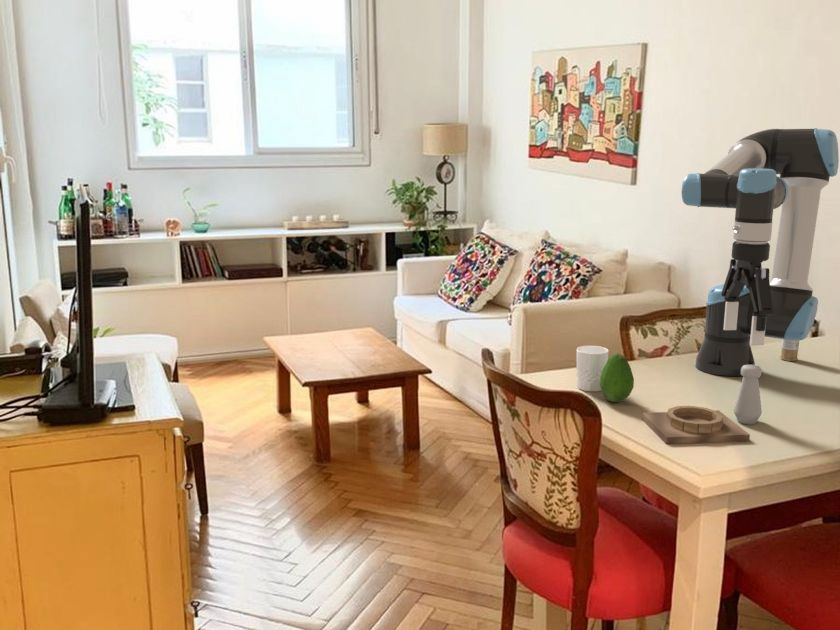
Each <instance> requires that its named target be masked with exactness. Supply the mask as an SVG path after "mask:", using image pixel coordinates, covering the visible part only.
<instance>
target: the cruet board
mask: <svg viewBox="0 0 840 630" xmlns="http://www.w3.org/2000/svg"><path fill="white" fill-rule="evenodd" d="M641 420H642V422H644V423H645V424H646V425H647V426H648V427H649V428H650V430H652V431H653V433H655V434H656V436H658V437H659V438H660V440H662V441H663V443H665V445H675V444H676V445H677V444H678V445H679V444H703V443H704V444H709V443H712V444H713V443H734V442H736V443H737V442H740V443H741V442H750V436H751V435H750V433H749V432H748V431H746V430H744V428H742V427H741V426H740V425H739V424H737V423H736V422H735V421H733V420H732V419H731V418H729V417H728V416H727V415H726V414H724V413H723V412H722V411H720V410H718V409H717V410H713V409H711V408H709V407H708V408H707V407H703V406H695V405H678V406H673V407H670V408H668V410H667V411H663V412H662V411H661V412H660V411H659V412H658V411H657V412H655V411H654V412H642V413H641Z"/></svg>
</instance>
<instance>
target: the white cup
mask: <svg viewBox="0 0 840 630" xmlns="http://www.w3.org/2000/svg"><path fill="white" fill-rule="evenodd" d="M609 351H610V350H609V349H608V348H606V347H604V346H600V345H582V346H578V347H577V348H576V377H577V378H576V379H577V381H576V383H577V385H576V387H577V389H579V390H582V391H585V392H602V391H601V387H600V376H601V373H602V371H603V368H604V366H605V365H606V363H607V361H608V359H609Z"/></svg>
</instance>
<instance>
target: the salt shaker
mask: <svg viewBox="0 0 840 630" xmlns="http://www.w3.org/2000/svg"><path fill="white" fill-rule="evenodd" d="M762 373H763V372H762V367H760V366H759V365H756V364H755V365H744V366H742V368H741V375H742V376H741V377H742V380H741V384H740V387H739V390H738V391H739V392H738V395H737V397H736V398H737V399H736V402H735V403H734V404H735V405H734V409H733V413H734V416H735V417H736V420H737V422H738V423H740V424H744V425H755V424H756V423H758V420H759V419H760V418H761V416H762V413H763V410H762V403H761V402H762V401H761V392H760V391H761V390H760V383H759V378H761V375H762Z"/></svg>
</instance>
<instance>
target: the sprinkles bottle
mask: <svg viewBox="0 0 840 630" xmlns="http://www.w3.org/2000/svg"><path fill="white" fill-rule="evenodd" d="M781 340H782V341H781V350H780V351H781V352H780V359H781V360H784V361H786V362H787V361H788V362H795V361H798V360H799V359H798V355H799V354H798V353H799V348H800V346H799V345H800V341H797V340H784V339H781Z"/></svg>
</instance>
